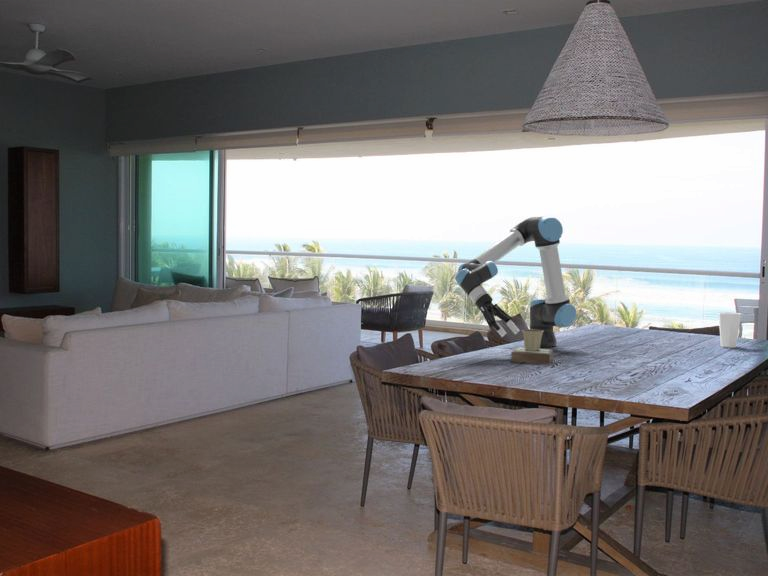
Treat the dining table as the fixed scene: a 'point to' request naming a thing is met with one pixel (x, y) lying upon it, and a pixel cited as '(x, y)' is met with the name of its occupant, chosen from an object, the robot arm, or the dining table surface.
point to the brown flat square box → (532, 356)
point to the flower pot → (532, 339)
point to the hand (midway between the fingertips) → (511, 334)
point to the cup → (729, 328)
